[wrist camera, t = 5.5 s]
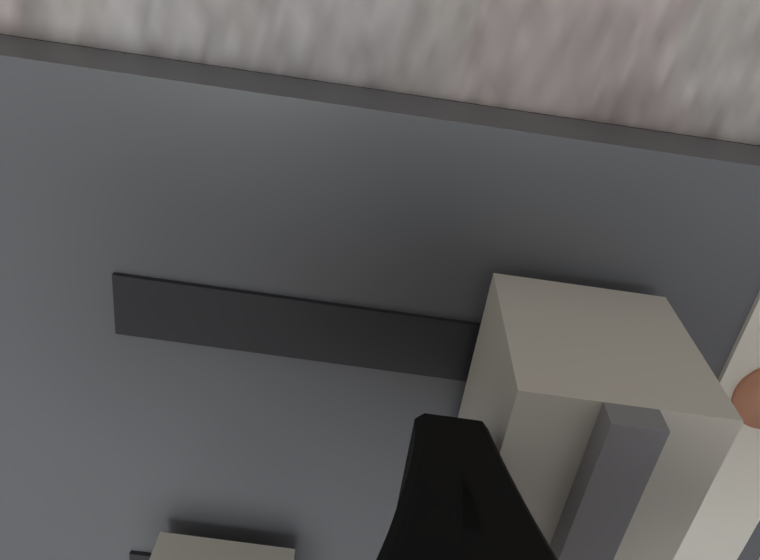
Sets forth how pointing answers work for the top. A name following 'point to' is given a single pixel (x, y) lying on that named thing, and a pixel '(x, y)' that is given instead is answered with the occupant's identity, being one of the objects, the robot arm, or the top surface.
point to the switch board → (312, 292)
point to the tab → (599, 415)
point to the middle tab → (214, 549)
